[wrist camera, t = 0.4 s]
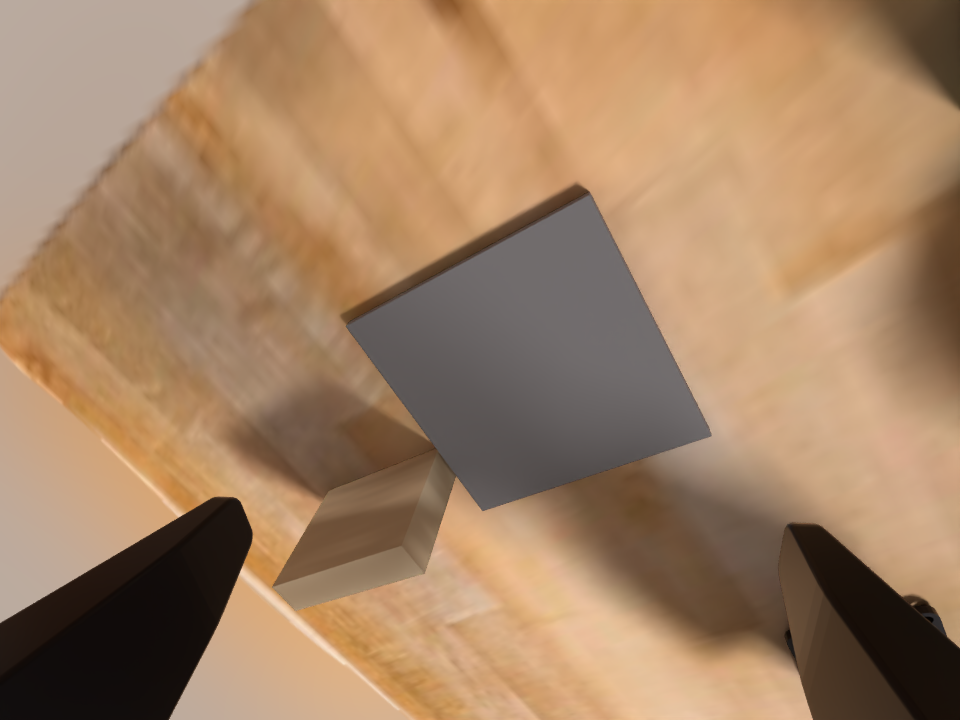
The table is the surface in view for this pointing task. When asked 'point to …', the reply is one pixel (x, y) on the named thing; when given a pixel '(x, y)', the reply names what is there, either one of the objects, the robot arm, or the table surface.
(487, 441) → the mat
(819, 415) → the table surface
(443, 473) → the picture frame
